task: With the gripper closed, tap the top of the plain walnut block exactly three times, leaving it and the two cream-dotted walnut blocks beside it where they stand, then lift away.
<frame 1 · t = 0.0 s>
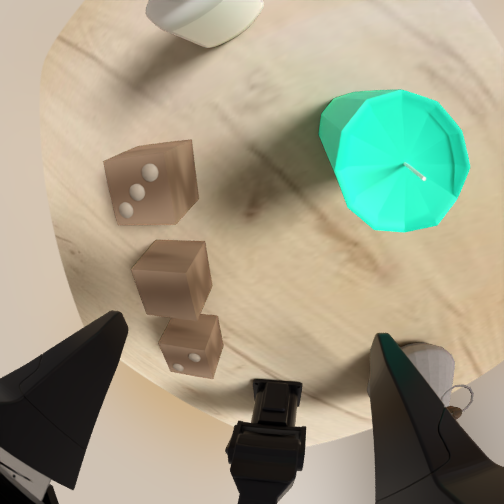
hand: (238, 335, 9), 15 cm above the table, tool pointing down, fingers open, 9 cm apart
plain block: (184, 263, 27), on the table
coffee pot: (408, 336, 27), on the table
three dot block: (167, 171, 22), on the table
two dot block: (199, 328, 31), on the table
candle: (358, 131, 18), on the table
eye dropper bottle: (228, 19, 15), on the table
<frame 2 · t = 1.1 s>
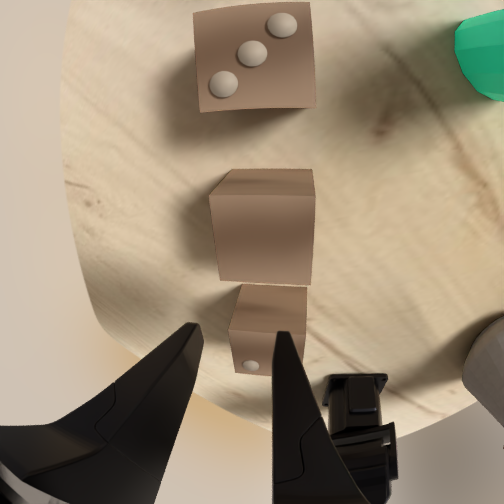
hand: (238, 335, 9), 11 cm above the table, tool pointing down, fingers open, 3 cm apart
plain block: (272, 205, 18), on the table
three dot block: (266, 65, 14), on the table
two dot block: (274, 309, 23), on the table
candle: (486, 58, 10), on the table
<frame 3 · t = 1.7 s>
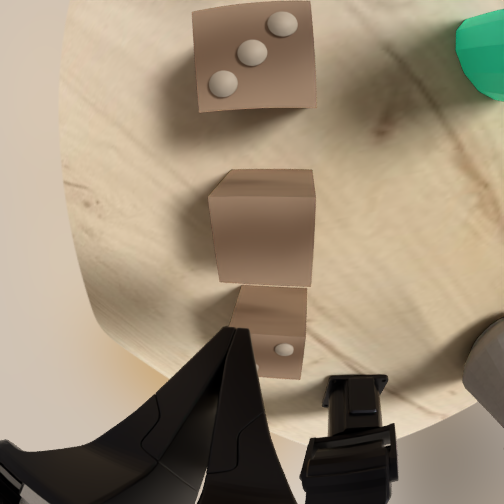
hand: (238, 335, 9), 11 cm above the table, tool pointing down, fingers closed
plain block: (272, 206, 18), on the table
three dot block: (266, 65, 14), on the table
two dot block: (274, 310, 23), on the table
candle: (487, 58, 10), on the table
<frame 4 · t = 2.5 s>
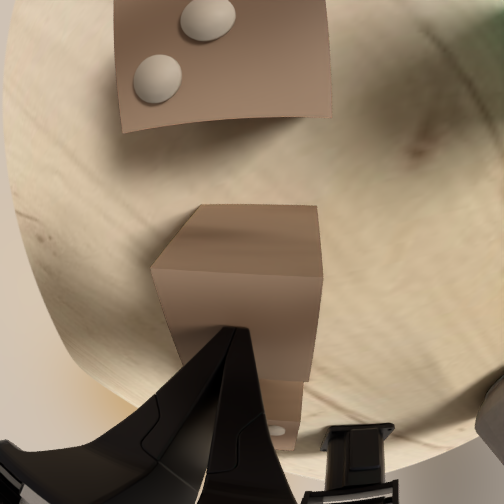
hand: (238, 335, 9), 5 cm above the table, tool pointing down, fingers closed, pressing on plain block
plain block: (259, 254, 13), on the table, touching gripper
three dot block: (248, 49, 9), on the table
two dot block: (265, 368, 18), on the table
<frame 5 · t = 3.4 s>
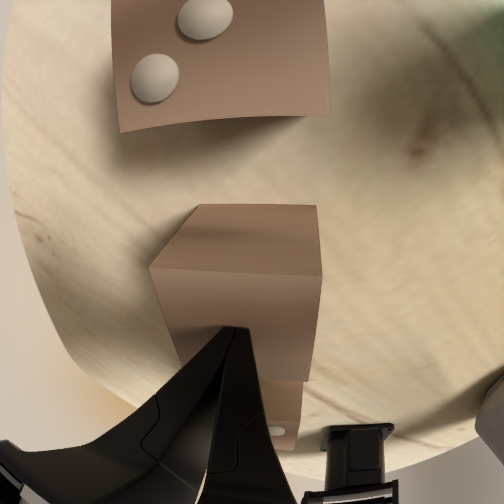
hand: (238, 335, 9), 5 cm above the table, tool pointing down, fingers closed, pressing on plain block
plain block: (259, 254, 13), on the table, touching gripper
three dot block: (247, 48, 9), on the table
two dot block: (264, 368, 18), on the table
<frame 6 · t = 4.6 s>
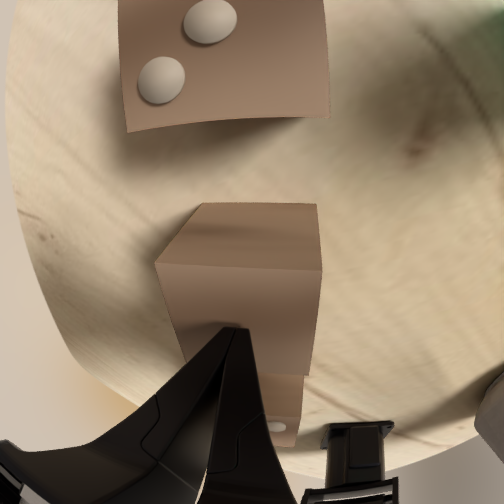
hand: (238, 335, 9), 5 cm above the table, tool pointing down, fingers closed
plain block: (260, 251, 13), on the table
three dot block: (249, 51, 9), on the table
two dot block: (265, 366, 18), on the table
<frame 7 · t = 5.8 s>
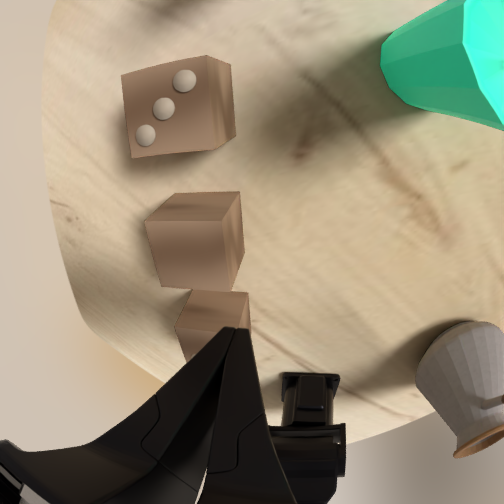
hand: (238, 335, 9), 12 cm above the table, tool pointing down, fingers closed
plain block: (210, 222, 22), on the table
coffee pot: (460, 314, 22), on the table
three dot block: (197, 103, 17), on the table
two dot block: (223, 310, 26), on the table
candle: (419, 68, 13), on the table
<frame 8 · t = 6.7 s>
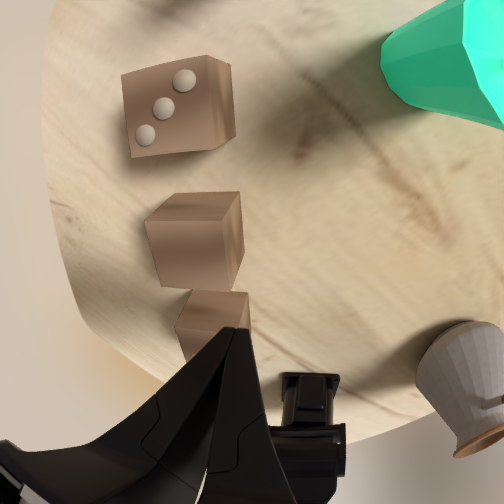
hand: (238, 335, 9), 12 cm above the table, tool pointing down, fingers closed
plain block: (210, 222, 22), on the table
coffee pot: (460, 314, 22), on the table
three dot block: (197, 103, 17), on the table
two dot block: (223, 310, 26), on the table
candle: (419, 68, 13), on the table
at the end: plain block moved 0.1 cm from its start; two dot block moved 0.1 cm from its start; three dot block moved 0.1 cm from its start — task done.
